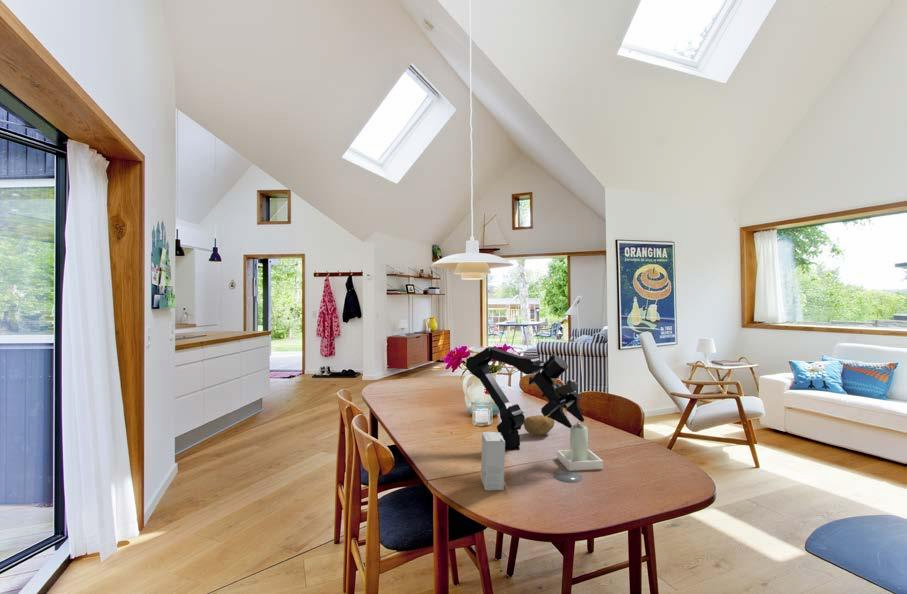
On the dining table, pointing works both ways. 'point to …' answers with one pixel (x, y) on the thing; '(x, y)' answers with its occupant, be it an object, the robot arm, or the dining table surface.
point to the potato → (538, 424)
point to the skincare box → (493, 461)
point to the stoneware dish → (591, 464)
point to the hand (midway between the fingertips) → (577, 424)
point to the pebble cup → (578, 443)
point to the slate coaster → (567, 477)
